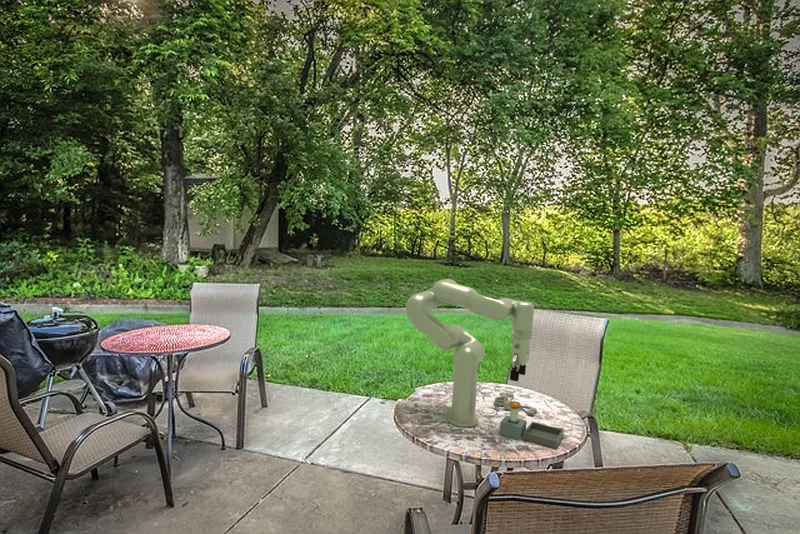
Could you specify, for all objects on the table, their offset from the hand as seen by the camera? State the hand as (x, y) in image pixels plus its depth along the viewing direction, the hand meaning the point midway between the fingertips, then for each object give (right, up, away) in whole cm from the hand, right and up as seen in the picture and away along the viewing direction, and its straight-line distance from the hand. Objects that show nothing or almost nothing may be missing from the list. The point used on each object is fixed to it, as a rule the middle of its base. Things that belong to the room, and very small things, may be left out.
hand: (517, 377), depth 178 cm
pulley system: (+4, -21, +32) cm, 38 cm away
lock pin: (-2, -22, +1) cm, 22 cm away
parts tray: (+9, -23, -2) cm, 25 cm away
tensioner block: (-2, -22, +1) cm, 22 cm away
